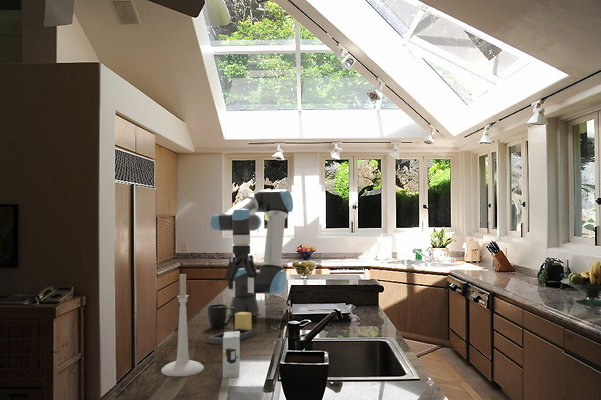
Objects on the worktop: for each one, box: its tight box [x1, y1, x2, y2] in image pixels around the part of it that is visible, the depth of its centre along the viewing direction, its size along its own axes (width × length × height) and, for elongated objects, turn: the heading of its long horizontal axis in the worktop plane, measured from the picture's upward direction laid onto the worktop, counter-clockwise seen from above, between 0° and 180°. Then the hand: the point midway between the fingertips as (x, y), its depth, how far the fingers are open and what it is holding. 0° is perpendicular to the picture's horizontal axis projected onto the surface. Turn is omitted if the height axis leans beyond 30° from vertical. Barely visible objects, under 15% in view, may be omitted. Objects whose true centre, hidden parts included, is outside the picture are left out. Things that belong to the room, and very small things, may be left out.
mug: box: [207, 303, 235, 330], centre depth 222 cm, size 8×12×10 cm
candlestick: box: [160, 273, 205, 377], centre depth 159 cm, size 13×13×30 cm
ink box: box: [222, 331, 241, 378], centre depth 155 cm, size 9×5×12 cm, turn 5°
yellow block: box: [234, 312, 252, 329], centre depth 218 cm, size 5×5×7 cm
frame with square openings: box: [207, 328, 257, 346], centre depth 201 cm, size 20×8×2 cm, turn 150°
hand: (241, 294), depth 218 cm, fingers open, 13 cm apart
